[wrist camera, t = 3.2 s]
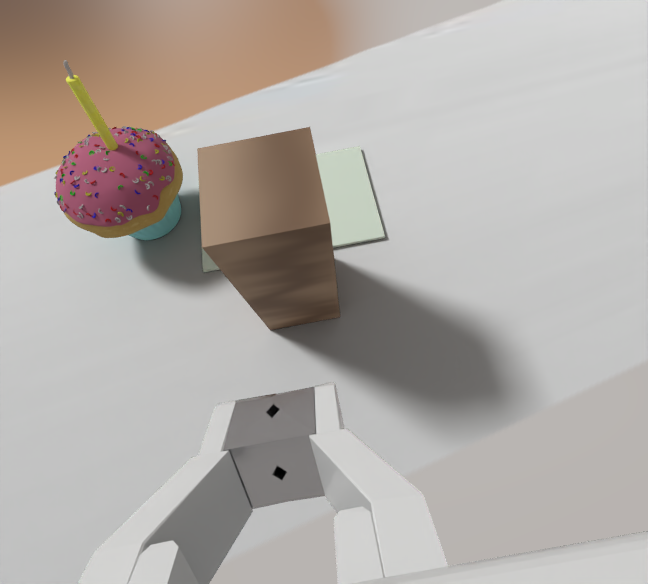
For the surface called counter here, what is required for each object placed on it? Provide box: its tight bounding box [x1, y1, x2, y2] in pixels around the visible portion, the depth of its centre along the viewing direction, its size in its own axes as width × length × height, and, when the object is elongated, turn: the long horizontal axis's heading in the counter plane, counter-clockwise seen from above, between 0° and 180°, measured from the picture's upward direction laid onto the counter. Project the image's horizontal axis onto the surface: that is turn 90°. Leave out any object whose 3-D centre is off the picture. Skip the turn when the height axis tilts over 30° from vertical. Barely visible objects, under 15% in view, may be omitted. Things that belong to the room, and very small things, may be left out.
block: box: [197, 127, 340, 330], centre depth 20 cm, size 5×5×12 cm
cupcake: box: [55, 60, 183, 240], centre depth 23 cm, size 9×8×12 cm
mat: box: [199, 146, 385, 272], centre depth 28 cm, size 14×9×1 cm, turn 100°
